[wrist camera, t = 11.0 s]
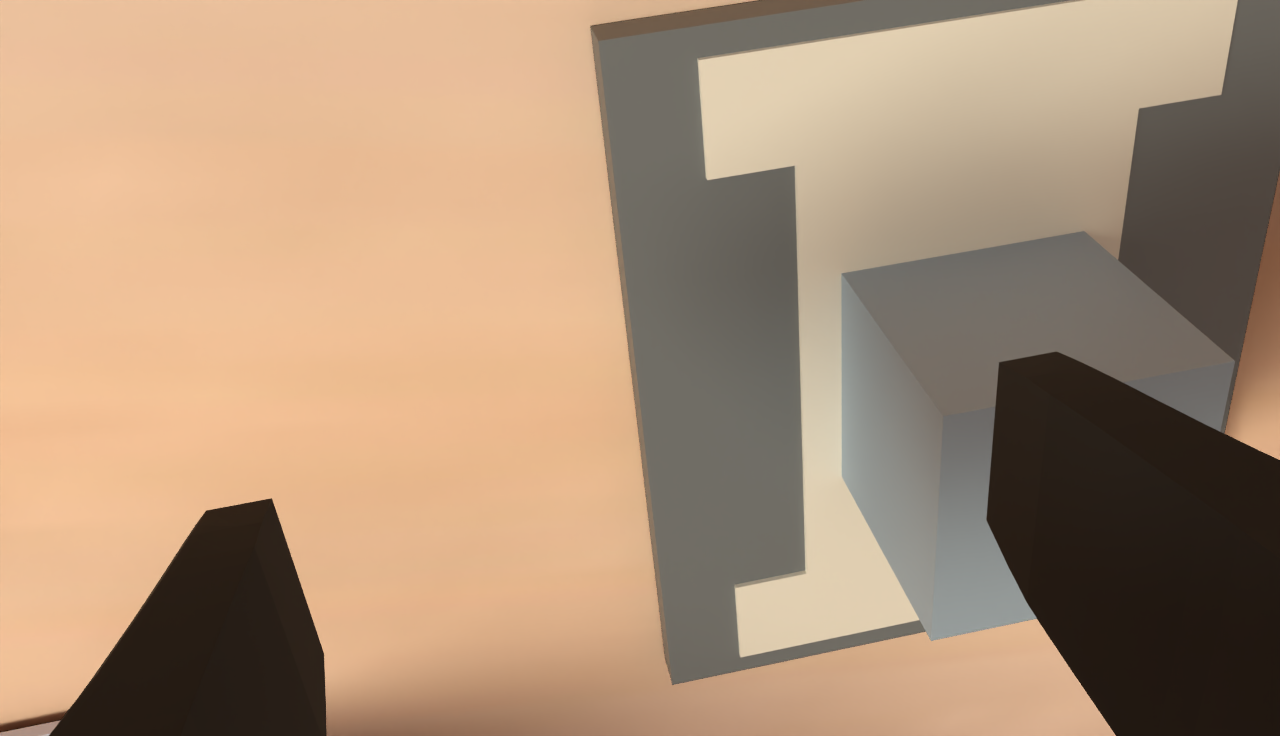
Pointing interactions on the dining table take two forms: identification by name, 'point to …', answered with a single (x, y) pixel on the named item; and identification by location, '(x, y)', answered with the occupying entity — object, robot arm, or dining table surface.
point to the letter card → (886, 245)
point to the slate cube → (986, 397)
